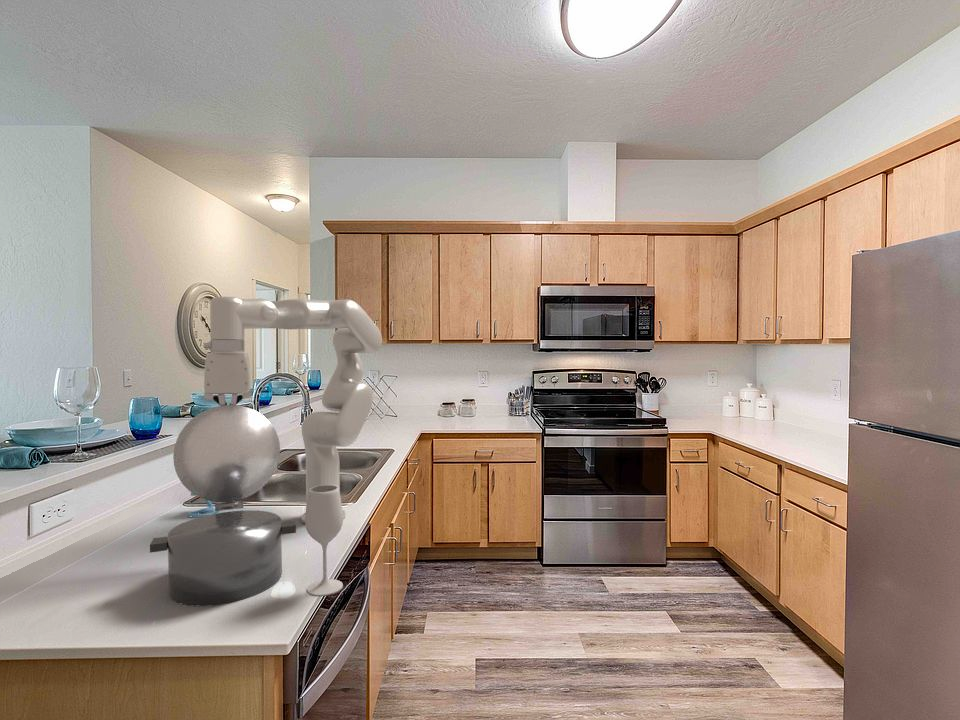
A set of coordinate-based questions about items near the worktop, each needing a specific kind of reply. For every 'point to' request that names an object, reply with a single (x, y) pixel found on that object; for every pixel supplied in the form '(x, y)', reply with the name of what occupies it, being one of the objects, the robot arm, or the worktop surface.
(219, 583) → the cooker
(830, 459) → the worktop surface
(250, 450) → the lid
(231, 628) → the worktop surface
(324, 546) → the wineglass
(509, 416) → the worktop surface
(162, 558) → the worktop surface
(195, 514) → the light blue angular piece
